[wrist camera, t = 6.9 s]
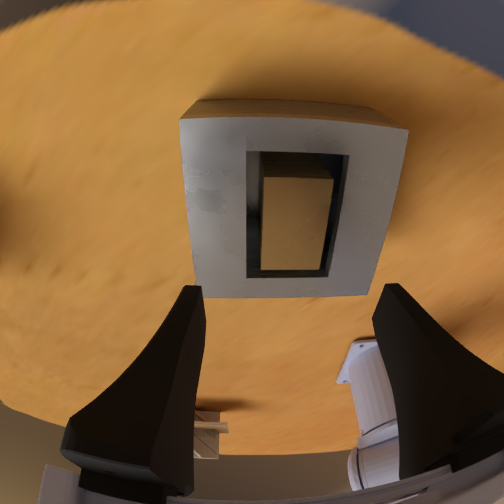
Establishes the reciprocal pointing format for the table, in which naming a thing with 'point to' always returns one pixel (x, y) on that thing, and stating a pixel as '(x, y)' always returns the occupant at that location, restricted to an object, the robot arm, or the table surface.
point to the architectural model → (207, 434)
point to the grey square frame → (247, 185)
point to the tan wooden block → (292, 209)
